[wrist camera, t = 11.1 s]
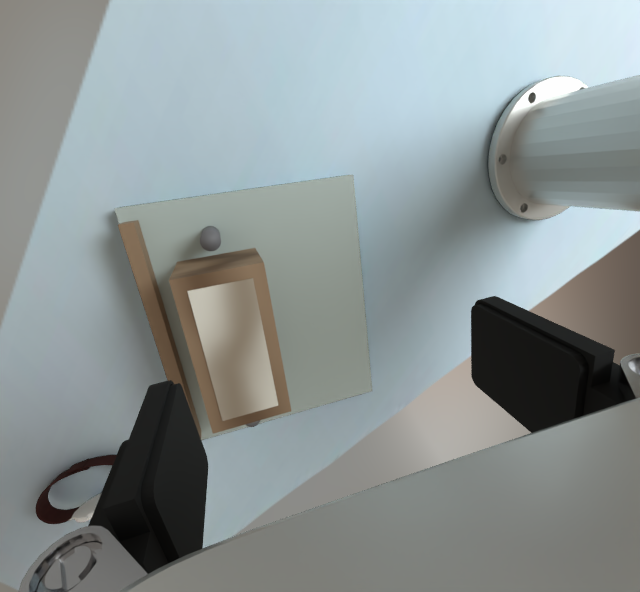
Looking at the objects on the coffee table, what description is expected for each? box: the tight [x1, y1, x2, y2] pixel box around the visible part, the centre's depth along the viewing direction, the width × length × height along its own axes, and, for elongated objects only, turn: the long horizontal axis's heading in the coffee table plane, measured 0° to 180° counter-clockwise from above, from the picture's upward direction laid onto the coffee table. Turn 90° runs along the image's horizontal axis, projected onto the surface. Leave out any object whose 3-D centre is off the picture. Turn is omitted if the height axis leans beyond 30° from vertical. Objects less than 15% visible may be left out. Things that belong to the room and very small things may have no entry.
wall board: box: [115, 175, 372, 440], centre depth 30 cm, size 18×21×4 cm
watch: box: [36, 455, 117, 524], centre depth 30 cm, size 8×5×4 cm, turn 107°
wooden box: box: [169, 248, 291, 434], centre depth 27 cm, size 6×12×6 cm, turn 7°
